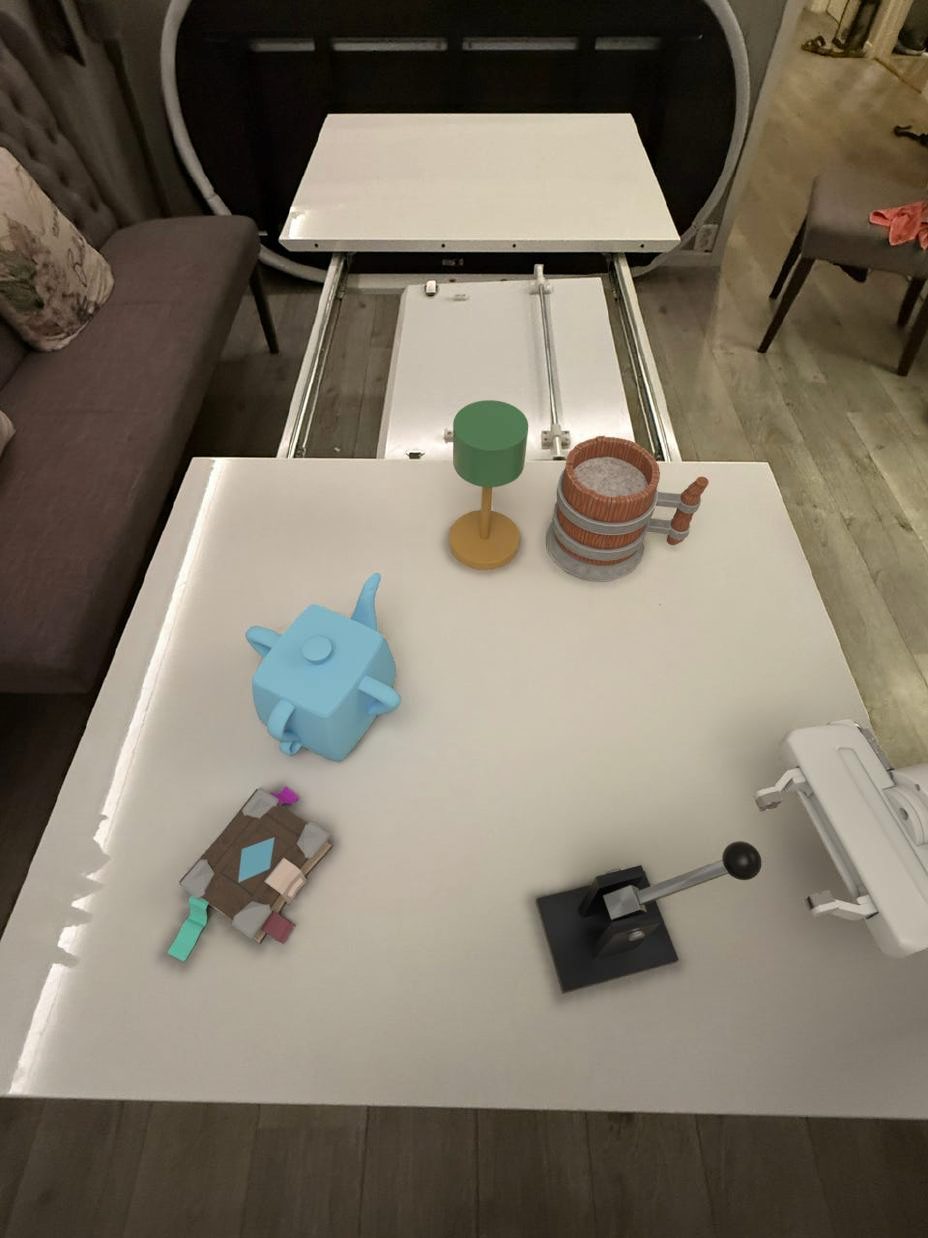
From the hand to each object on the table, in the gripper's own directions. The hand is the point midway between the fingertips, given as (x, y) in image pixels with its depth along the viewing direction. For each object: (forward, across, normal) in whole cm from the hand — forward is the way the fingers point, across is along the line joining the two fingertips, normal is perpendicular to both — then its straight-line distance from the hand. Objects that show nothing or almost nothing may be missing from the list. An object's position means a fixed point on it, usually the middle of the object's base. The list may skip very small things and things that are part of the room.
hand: (783, 851), depth 64 cm
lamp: (+12, -54, +16) cm, 57 cm away
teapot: (+36, -34, +16) cm, 52 cm away
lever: (+8, 0, +4) cm, 9 cm away
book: (+48, -13, +16) cm, 52 cm away
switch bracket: (+14, 0, +16) cm, 21 cm away
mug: (-6, -49, +16) cm, 52 cm away
